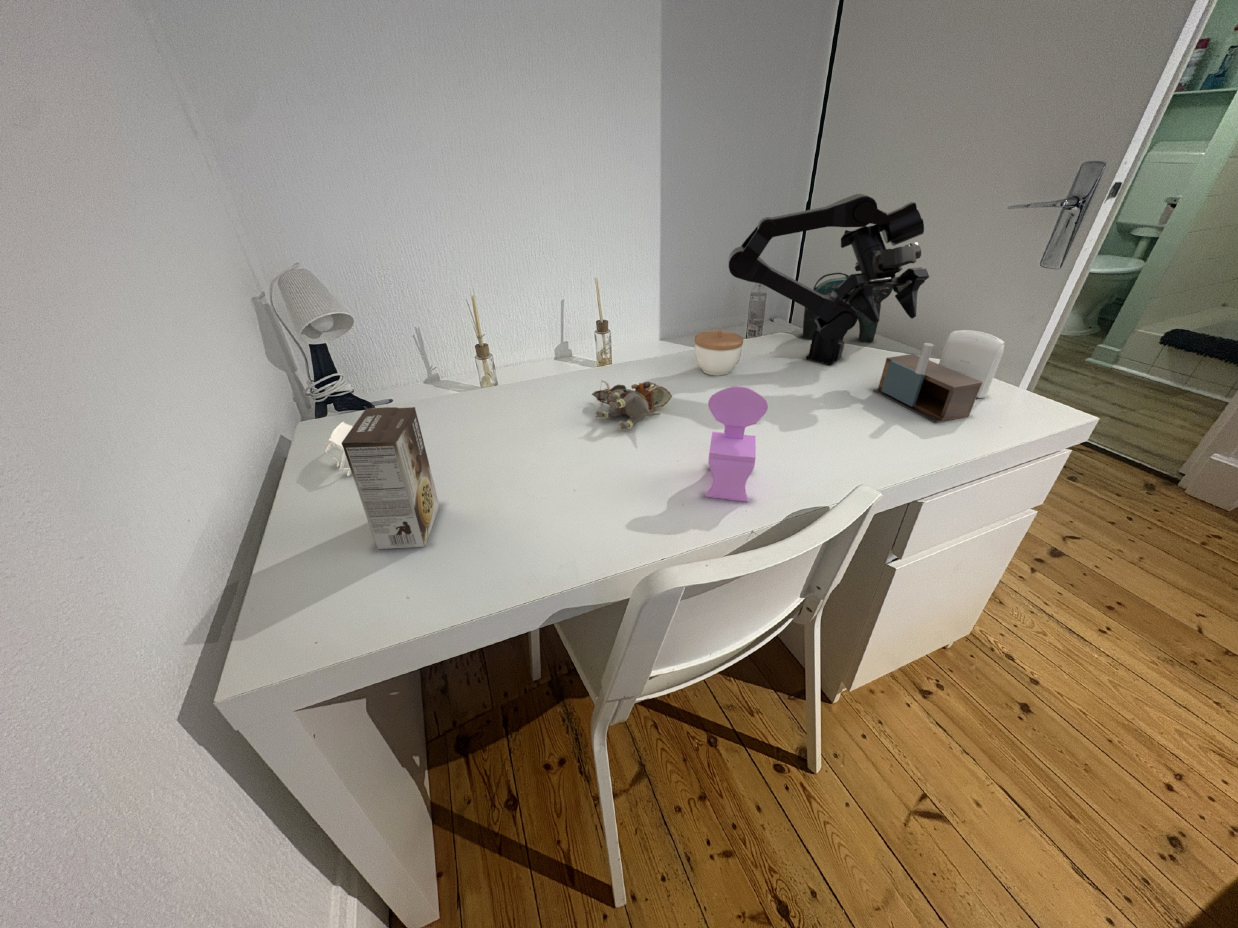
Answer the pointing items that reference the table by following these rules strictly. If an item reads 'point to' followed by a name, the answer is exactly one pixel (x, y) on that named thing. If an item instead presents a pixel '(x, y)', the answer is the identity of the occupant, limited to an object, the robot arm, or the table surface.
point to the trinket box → (717, 351)
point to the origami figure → (339, 443)
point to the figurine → (632, 401)
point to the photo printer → (973, 356)
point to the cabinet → (938, 391)
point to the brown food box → (392, 476)
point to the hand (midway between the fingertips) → (895, 319)
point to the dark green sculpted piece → (865, 323)
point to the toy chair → (733, 441)
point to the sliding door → (907, 378)
